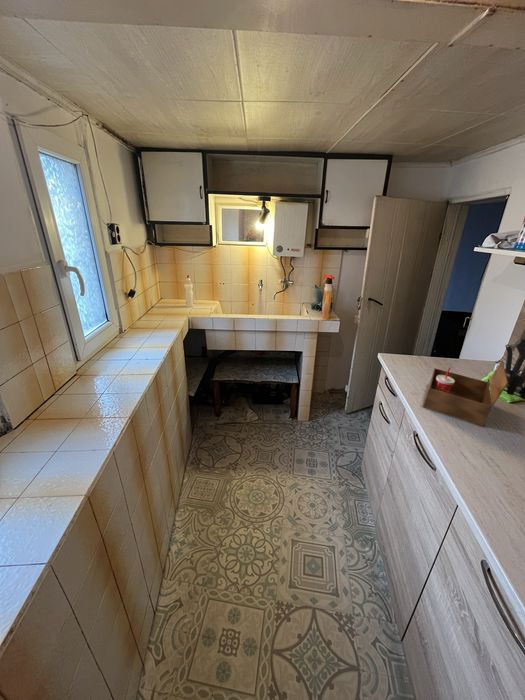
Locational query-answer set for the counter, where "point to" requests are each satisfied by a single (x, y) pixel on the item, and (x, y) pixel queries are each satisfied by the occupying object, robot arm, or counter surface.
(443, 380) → the beverage cup
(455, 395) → the brown open-topped box
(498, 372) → the flap
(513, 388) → the robot arm
